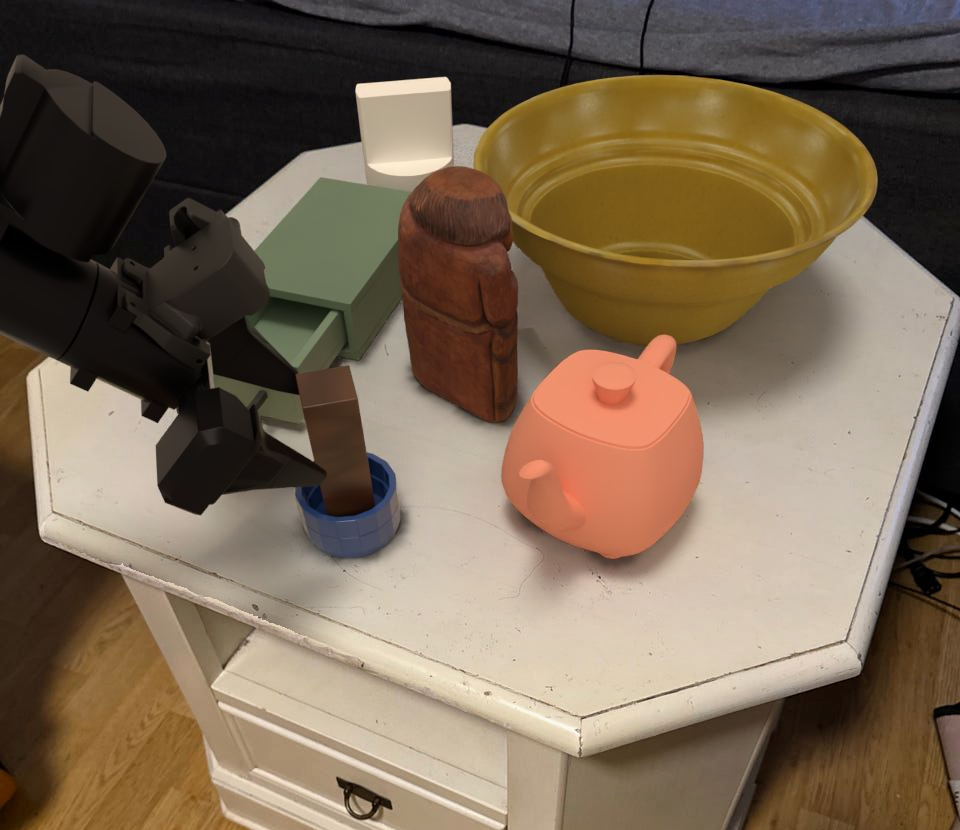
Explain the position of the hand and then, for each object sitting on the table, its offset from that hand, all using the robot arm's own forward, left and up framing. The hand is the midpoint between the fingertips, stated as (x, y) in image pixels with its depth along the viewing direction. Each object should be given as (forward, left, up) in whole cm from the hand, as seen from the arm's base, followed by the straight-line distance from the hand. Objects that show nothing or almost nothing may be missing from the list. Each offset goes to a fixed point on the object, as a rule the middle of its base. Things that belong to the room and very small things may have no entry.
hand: (313, 431), depth 57 cm
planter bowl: (+29, +25, -9) cm, 40 cm away
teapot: (+19, -1, -9) cm, 22 cm away
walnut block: (+1, 0, -9) cm, 9 cm away
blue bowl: (+1, 0, -9) cm, 9 cm away
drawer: (-5, +19, -8) cm, 21 cm away
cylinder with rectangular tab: (+8, +44, -9) cm, 46 cm away
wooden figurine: (+11, +15, -9) cm, 21 cm away
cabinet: (+1, +31, -9) cm, 32 cm away
